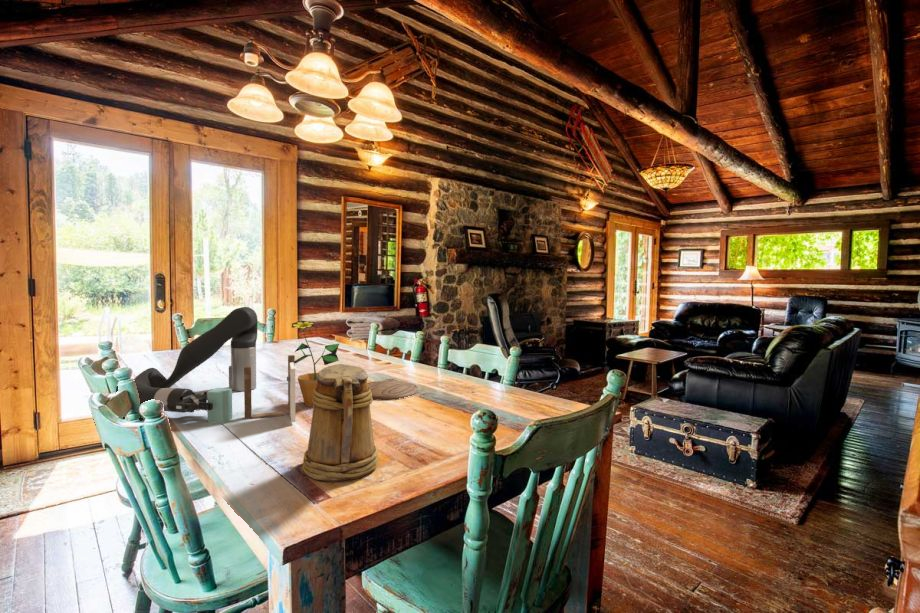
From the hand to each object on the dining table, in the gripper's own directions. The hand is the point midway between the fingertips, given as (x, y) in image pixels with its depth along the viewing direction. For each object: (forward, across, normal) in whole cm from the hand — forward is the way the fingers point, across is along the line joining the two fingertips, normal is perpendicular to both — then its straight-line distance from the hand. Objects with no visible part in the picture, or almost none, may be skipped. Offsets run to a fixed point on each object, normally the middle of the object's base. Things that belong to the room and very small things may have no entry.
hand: (220, 402), depth 145 cm
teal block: (0, 0, -6) cm, 6 cm away
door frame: (+12, -8, -6) cm, 16 cm away
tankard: (+52, +28, -6) cm, 59 cm away
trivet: (+42, -46, -6) cm, 63 cm away
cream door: (+21, -5, -5) cm, 22 cm away
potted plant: (+20, -24, -6) cm, 32 cm away
